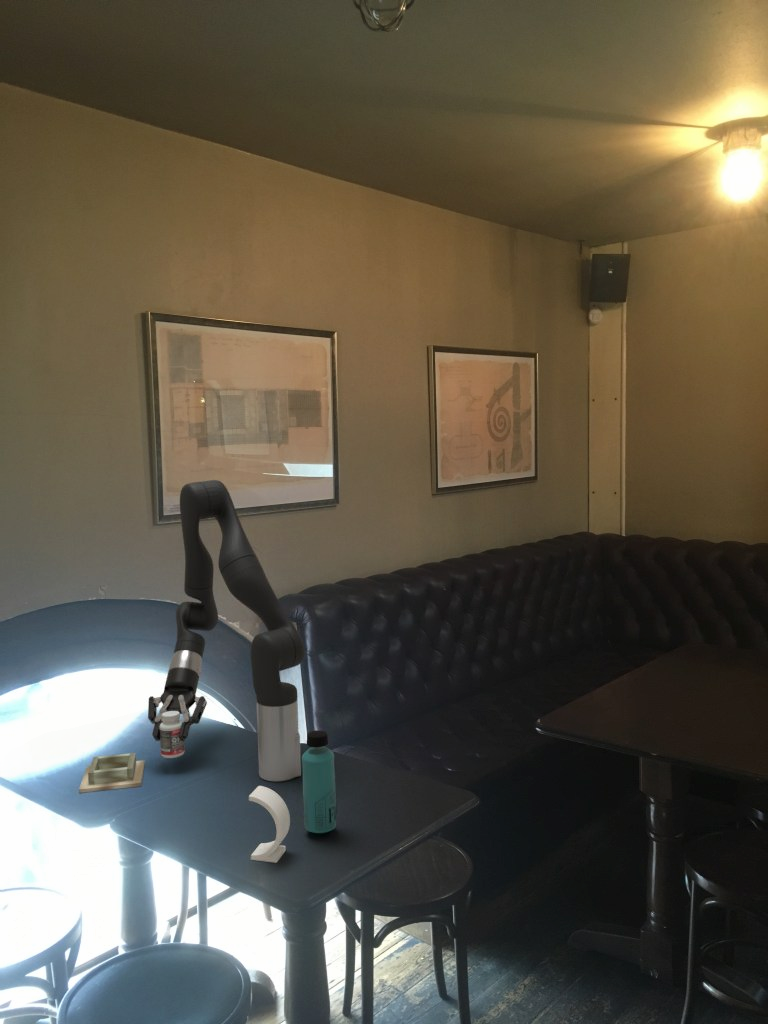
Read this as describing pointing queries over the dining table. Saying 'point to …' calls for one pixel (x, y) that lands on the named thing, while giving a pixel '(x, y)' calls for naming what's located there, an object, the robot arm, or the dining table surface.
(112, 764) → the holder
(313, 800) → the beverage bottle
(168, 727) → the pill bottle
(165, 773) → the dining table surface
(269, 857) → the headphone stand
